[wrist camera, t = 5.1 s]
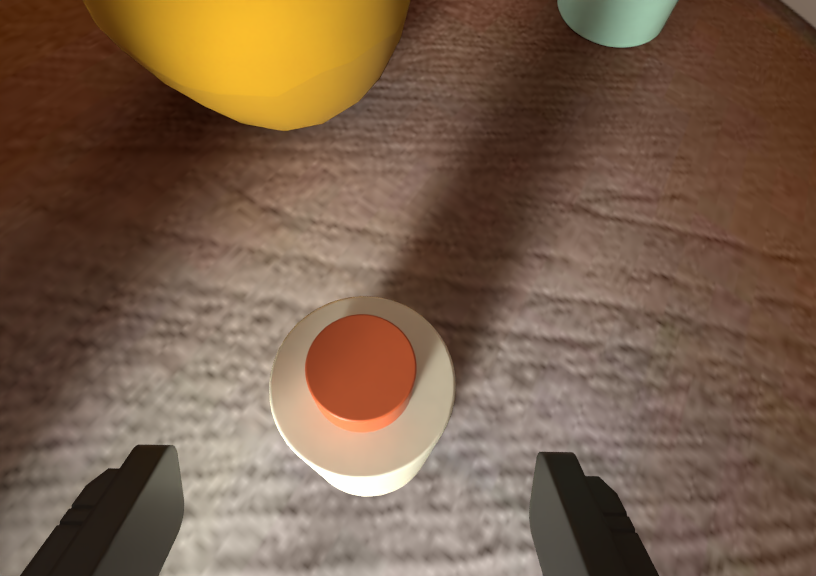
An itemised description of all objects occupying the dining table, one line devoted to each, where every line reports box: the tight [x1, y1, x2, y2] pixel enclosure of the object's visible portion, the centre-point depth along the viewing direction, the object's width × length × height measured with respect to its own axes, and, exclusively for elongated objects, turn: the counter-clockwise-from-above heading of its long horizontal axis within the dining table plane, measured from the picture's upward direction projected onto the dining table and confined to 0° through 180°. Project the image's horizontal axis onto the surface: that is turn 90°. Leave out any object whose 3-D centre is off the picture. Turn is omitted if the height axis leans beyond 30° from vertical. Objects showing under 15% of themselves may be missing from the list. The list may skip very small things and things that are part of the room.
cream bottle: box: [269, 296, 456, 496], centre depth 17 cm, size 5×5×9 cm
